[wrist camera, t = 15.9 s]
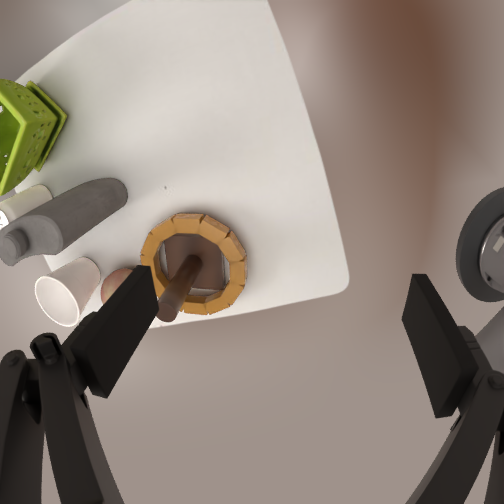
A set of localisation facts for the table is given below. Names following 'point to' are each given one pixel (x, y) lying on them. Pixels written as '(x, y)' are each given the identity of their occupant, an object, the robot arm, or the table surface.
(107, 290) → the apple
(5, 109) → the flower pot
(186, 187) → the table surface
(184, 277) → the peg stand
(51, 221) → the flask
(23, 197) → the can
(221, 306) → the hoop
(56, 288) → the cup
